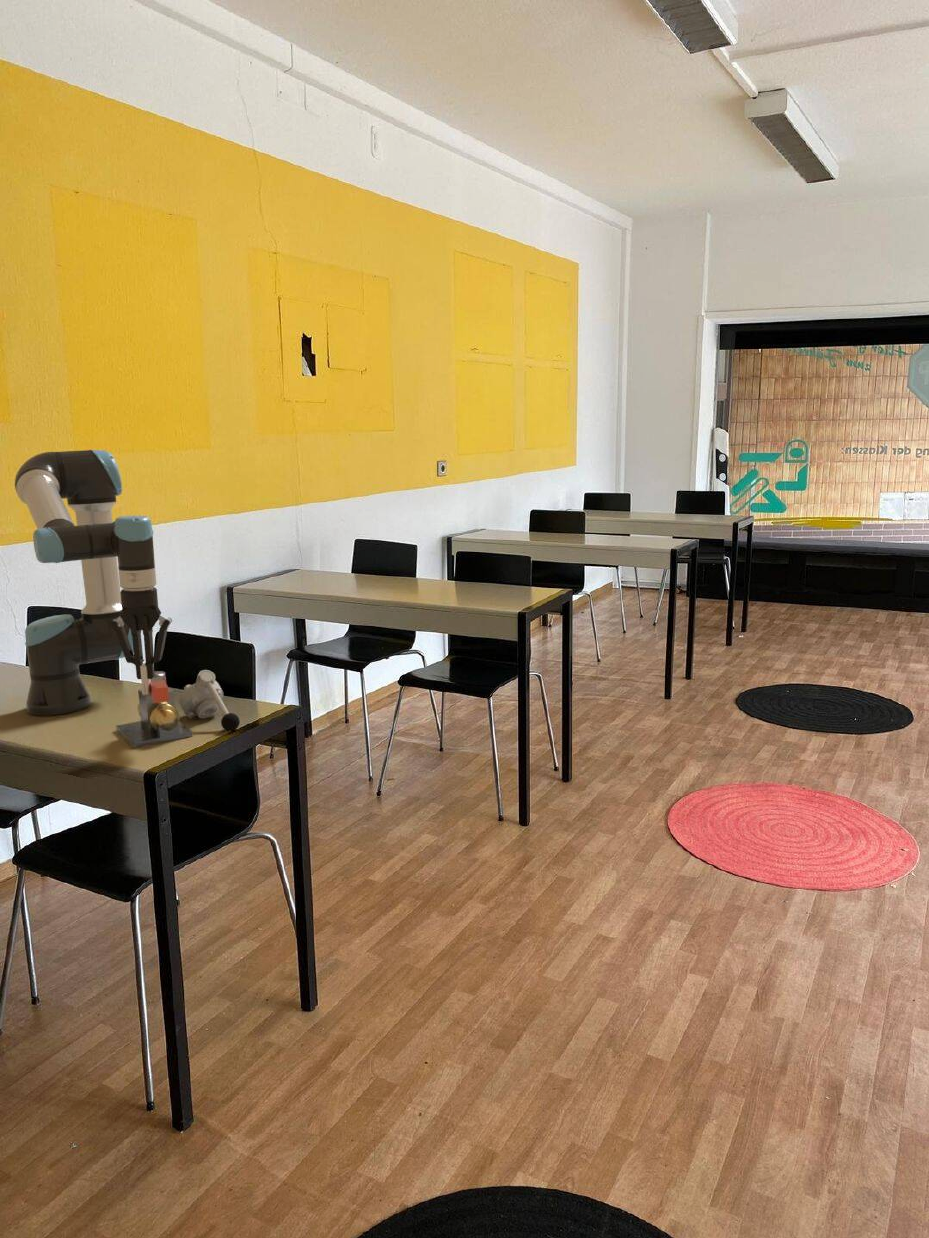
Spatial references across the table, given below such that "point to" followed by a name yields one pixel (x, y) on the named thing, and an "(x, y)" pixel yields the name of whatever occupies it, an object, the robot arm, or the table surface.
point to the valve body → (154, 723)
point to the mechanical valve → (207, 700)
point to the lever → (159, 687)
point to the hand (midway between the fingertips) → (147, 692)
